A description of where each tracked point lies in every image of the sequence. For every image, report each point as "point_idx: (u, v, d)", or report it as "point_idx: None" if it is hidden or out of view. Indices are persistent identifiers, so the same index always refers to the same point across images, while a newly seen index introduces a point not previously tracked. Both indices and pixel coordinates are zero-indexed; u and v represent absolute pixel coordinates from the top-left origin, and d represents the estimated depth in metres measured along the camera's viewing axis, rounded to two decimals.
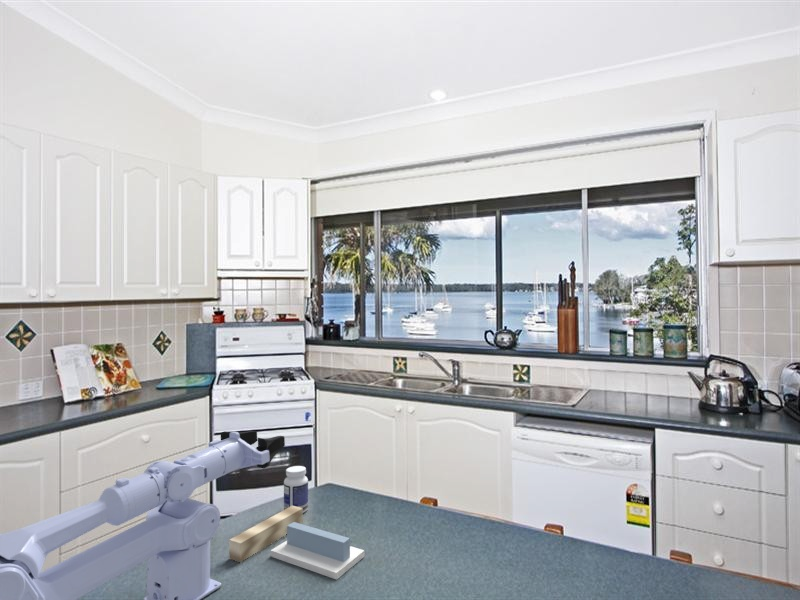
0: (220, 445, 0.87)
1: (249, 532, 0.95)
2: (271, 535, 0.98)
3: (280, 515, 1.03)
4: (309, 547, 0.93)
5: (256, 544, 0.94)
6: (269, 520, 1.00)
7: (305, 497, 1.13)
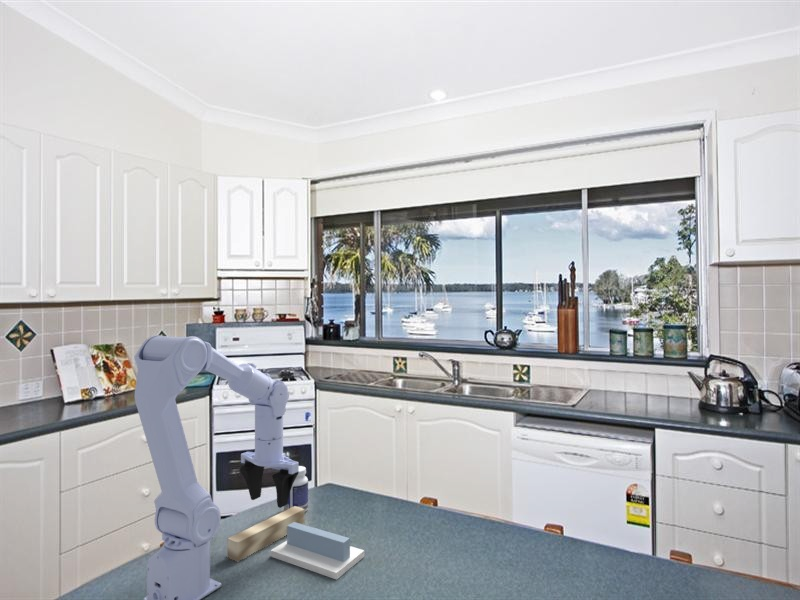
0: None
1: (248, 532, 0.95)
2: (271, 535, 0.98)
3: (281, 515, 1.02)
4: (309, 547, 0.93)
5: (255, 544, 0.94)
6: (270, 520, 1.00)
7: (305, 497, 1.13)
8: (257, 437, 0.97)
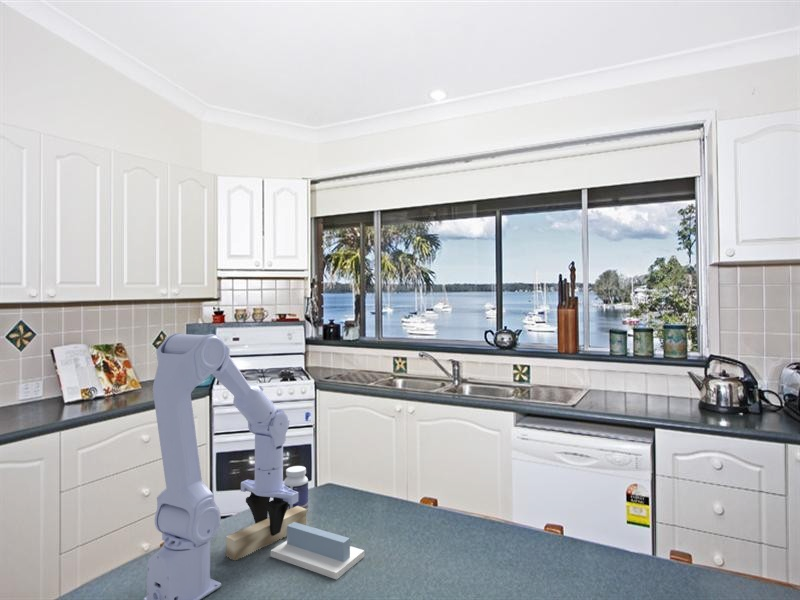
0: None
1: (247, 530, 0.95)
2: (270, 534, 0.98)
3: None
4: (309, 547, 0.93)
5: (253, 543, 0.94)
6: None
7: (305, 497, 1.13)
8: (257, 467, 0.97)
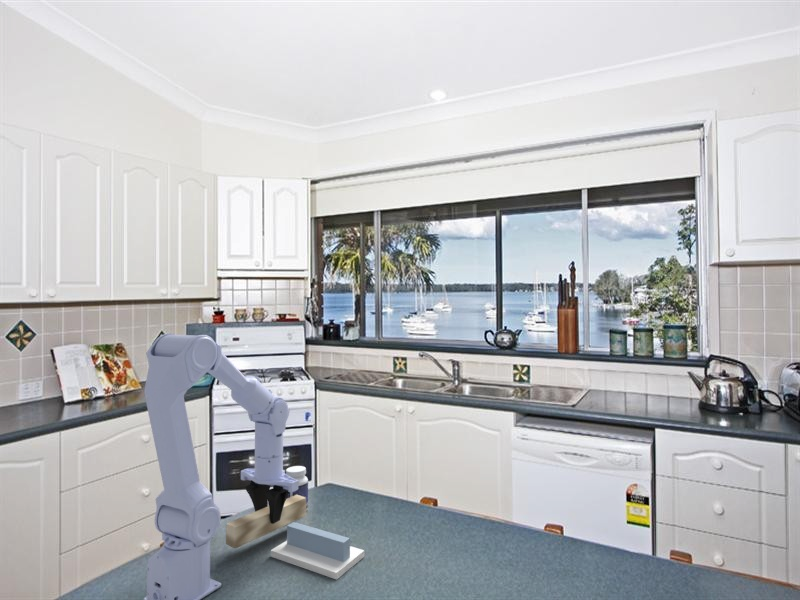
0: None
1: (247, 518, 0.95)
2: (270, 522, 0.98)
3: None
4: (309, 547, 0.93)
5: (253, 530, 0.94)
6: None
7: (305, 497, 1.13)
8: (257, 455, 0.97)
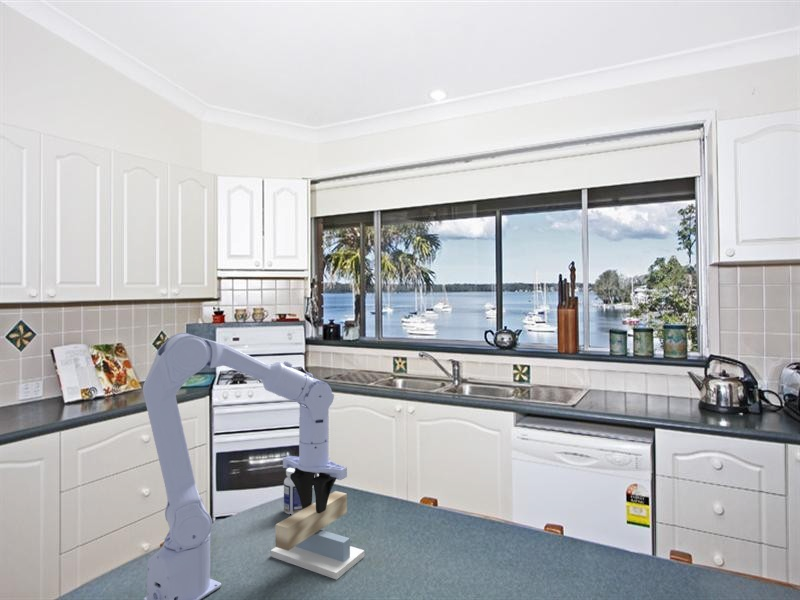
0: None
1: (295, 517, 0.89)
2: (317, 520, 0.92)
3: None
4: (309, 547, 0.93)
5: (303, 530, 0.88)
6: (314, 505, 0.95)
7: None
8: (299, 439, 0.93)
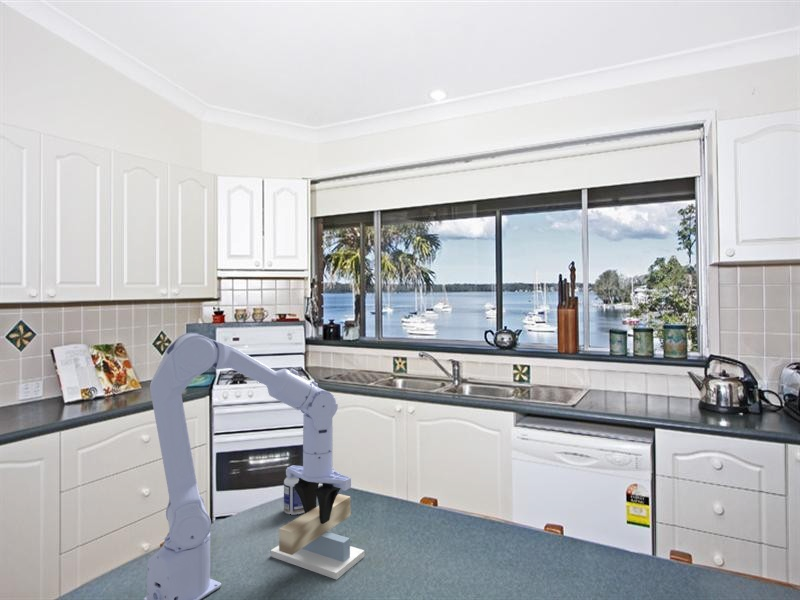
0: None
1: (299, 521, 0.88)
2: (321, 524, 0.92)
3: None
4: (309, 547, 0.93)
5: (307, 534, 0.88)
6: (318, 508, 0.94)
7: None
8: (303, 448, 0.92)
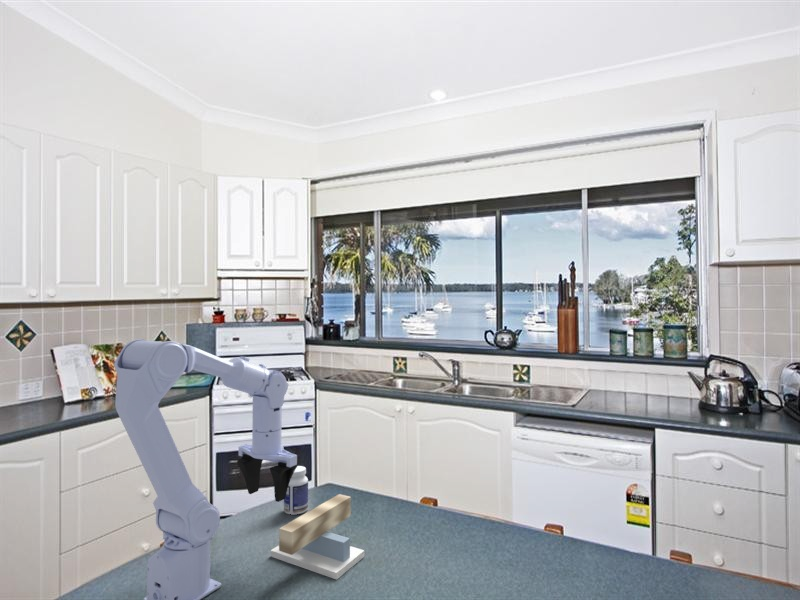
0: None
1: (299, 521, 0.88)
2: (321, 524, 0.92)
3: (328, 504, 0.96)
4: (309, 547, 0.93)
5: (307, 534, 0.88)
6: (318, 508, 0.94)
7: (305, 497, 1.13)
8: (254, 429, 0.95)
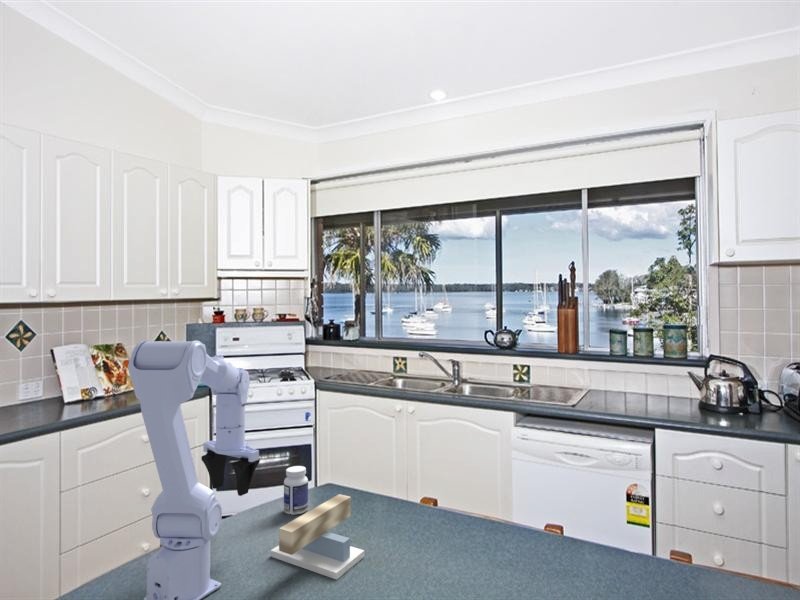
0: None
1: (299, 521, 0.88)
2: (321, 524, 0.92)
3: (328, 504, 0.96)
4: (309, 547, 0.93)
5: (307, 534, 0.88)
6: (318, 508, 0.94)
7: (305, 497, 1.13)
8: (222, 426, 0.97)
